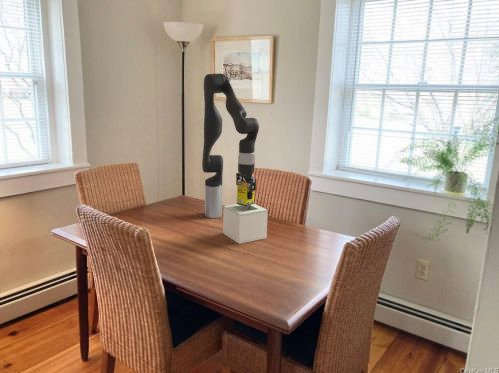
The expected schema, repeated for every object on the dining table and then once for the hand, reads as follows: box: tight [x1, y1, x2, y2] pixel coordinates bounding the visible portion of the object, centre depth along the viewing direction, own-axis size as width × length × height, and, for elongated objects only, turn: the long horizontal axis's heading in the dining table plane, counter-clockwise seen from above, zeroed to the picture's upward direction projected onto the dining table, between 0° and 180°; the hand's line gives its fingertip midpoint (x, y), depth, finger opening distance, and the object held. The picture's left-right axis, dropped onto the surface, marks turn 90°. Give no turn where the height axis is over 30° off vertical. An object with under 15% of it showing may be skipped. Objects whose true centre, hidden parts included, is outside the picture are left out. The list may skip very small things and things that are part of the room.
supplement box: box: [236, 180, 255, 206], centre depth 190 cm, size 6×6×11 cm
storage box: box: [222, 203, 269, 245], centre depth 194 cm, size 15×15×14 cm
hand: (245, 197), depth 191 cm, fingers closed on supplement box, 7 cm apart
